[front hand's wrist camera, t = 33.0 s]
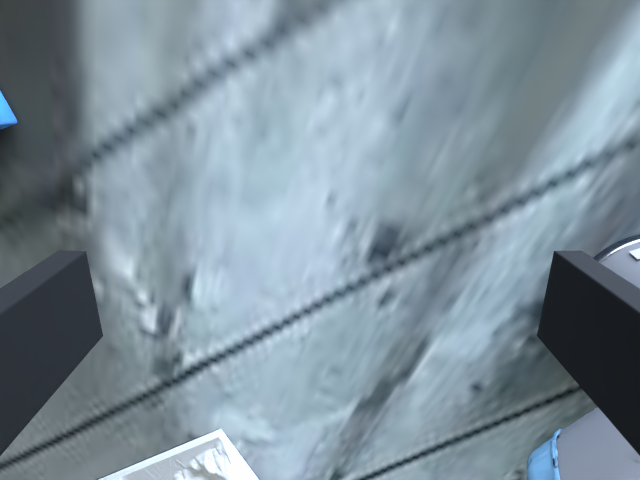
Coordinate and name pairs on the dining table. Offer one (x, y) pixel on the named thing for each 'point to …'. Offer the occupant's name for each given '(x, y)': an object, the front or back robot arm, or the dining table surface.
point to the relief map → (192, 462)
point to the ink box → (6, 114)
